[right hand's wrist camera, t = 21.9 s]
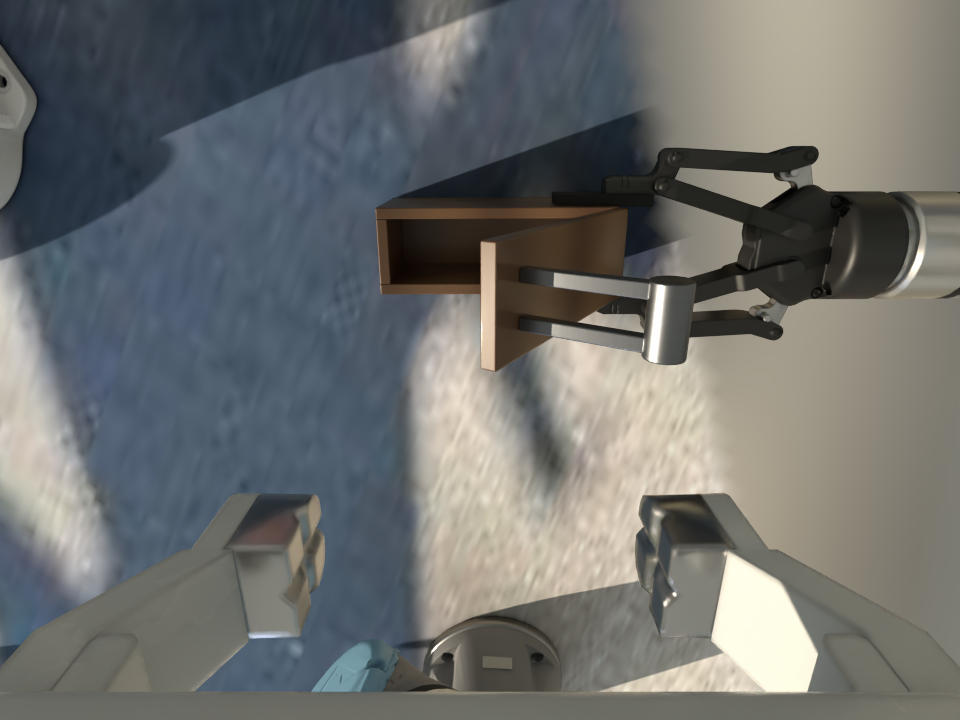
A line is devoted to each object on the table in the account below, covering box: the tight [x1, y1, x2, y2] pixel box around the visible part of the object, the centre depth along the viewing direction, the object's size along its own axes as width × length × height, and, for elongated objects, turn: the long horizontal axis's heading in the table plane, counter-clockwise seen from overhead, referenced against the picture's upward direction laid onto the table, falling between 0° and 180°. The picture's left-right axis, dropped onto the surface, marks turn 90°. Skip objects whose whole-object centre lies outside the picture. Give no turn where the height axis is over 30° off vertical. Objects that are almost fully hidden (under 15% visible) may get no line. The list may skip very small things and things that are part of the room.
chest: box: [375, 197, 620, 294], centre depth 42 cm, size 16×6×8 cm, turn 90°
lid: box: [481, 208, 696, 372], centre depth 29 cm, size 17×6×8 cm
